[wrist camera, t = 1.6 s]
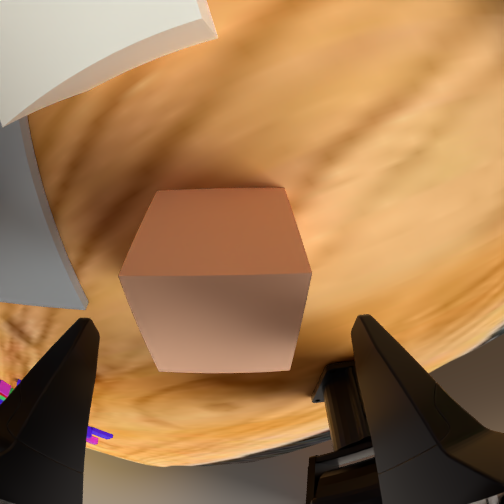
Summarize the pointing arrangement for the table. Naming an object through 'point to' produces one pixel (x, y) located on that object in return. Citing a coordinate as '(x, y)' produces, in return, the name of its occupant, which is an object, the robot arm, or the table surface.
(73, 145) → the table surface
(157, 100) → the table surface
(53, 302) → the plate
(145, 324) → the terracotta brick
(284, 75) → the table surface
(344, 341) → the table surface
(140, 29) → the offwhite brick
